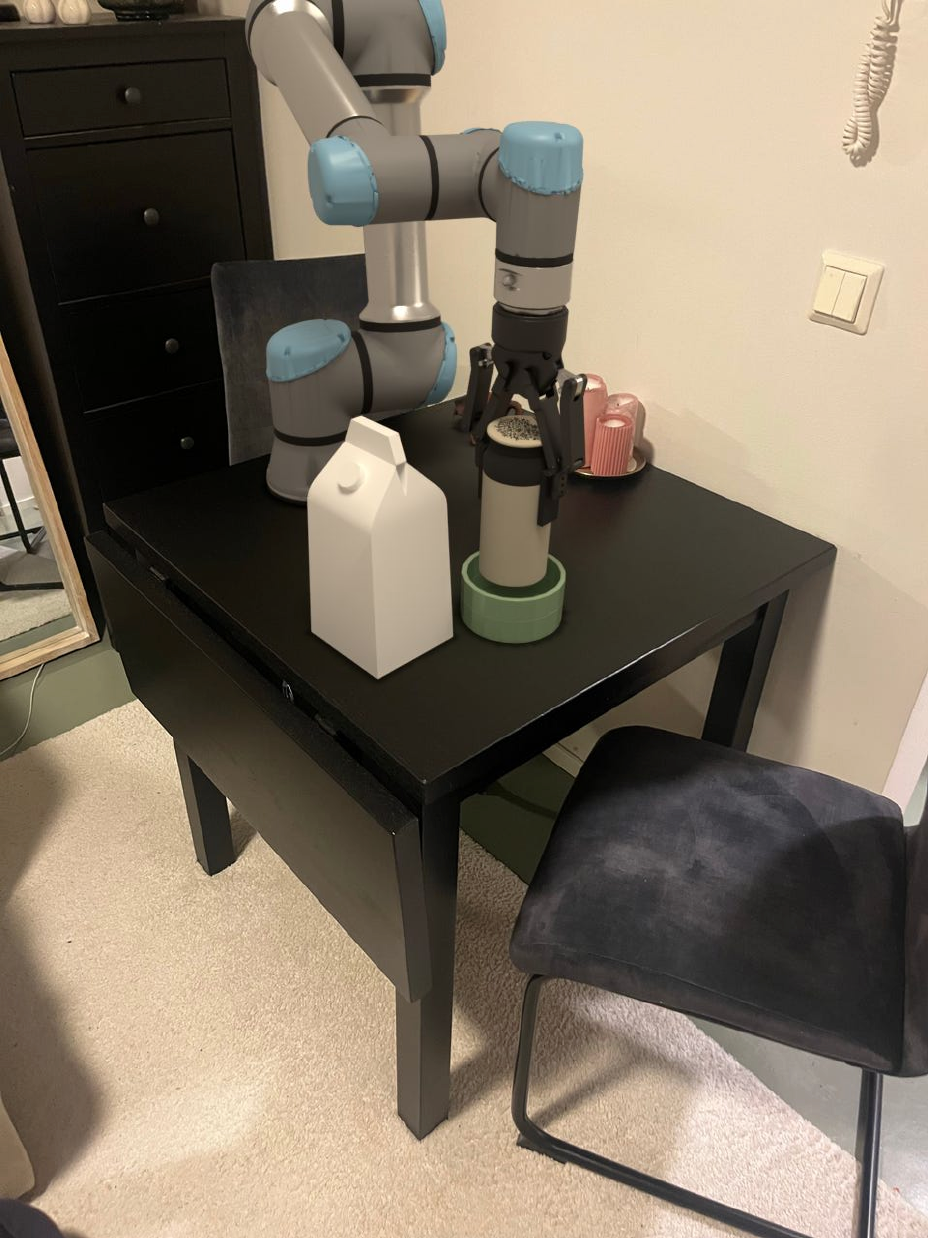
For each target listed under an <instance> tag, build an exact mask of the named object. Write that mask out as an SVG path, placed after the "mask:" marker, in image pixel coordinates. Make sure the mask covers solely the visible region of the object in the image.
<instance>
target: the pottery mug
mask: <svg viewBox="0 0 928 1238" xmlns="http://www.w3.org/2000/svg"><path fill="white" fill-rule="evenodd" d="M491 394H492V391H489V396H488V401H489V398H490V396H491ZM465 400H466V396H462V397H459V398H457V399H455V400H454V401H453V402H454V405H455V407H454V410H453V412H452V414H451V419H455V416H460V417H463V411H464V406H465ZM487 403H488V402H487ZM511 410H514V412H515V413H514V415H524V414H525V411H524V409H523V405H522V404H521V403H520V401H518V400H513V399H512V400H511V402H510V404H509V406H508V408H507V410H506V412H505V415H504V417H505V416H509V413H510V411H511ZM469 436H470V438H471V443H472V445H473V446H474V445H475V441H474V439H473V436H472V435H471V434H470V433H469Z"/></svg>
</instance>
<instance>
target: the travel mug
mask: <svg viewBox="0 0 928 1238" xmlns="http://www.w3.org/2000/svg"><path fill="white" fill-rule="evenodd" d="M487 433H488V435H489V436H490V445H489V446H488V448H487V449H486V451H485V453H484V460H483V483H482V500H481V508H480V533H479V551H480V552H479V571H480V573H481V574H482V575H483V576H484V577H485V578H486V579H487V580H489V581H491V582H493V583H495V584H498V585H502V586H508V587H522V586H528V585H532V584H534V583H537V582H538V581H540V580H541V579H542V578H543V577H544V576H545V574H546V568H547V558H548V554H549V546H550V535H551V528H552V527H551V525H552V522H550V523H549V524H547V525H545V526H543V527H541V526H538V525H537V517H538V505H539V494H540V482H541V471H542V470H544V469H546V468H548V466H547V462H546V458H545V454H544V450H543V446H542V442H541V438H540V434H539V430H538V426H537V422H536V418H535V416H532V415H524V414H523V415H515V414H514V415H508V416H505V417H501V418H498V419H496V420H494V421H492V422H491V423H490V424H489V425H488V427H487Z"/></svg>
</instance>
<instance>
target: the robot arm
mask: <svg viewBox="0 0 928 1238" xmlns="http://www.w3.org/2000/svg"><path fill="white" fill-rule="evenodd" d="M244 32H245V40H246V45H247V49H248V53H249V55H250V57H251V59H252V61H253V63H254V65H255V67H256V69H257V70H258V72H259V73H260V74H261V76H262V77H263V78H264V79H265V80H266V81H267V82H268V83H270V84H271V85H273V86H274V87H277V88H278V90H279V92H280V94H281V96H282V97H283V99H284V101H285V103H286V105H287V107H288V108H289V110H290V112H291V114H292V115H293V118H294V120H295V122H296V123H297V125H298V127H299V129H300V131H301V132H302V134H303V136H304V138H305V140H306V141H307V143H308V145H309V150H308V155H307V182H308V190H309V195H310V199H311V200H312V206H313V210H314V212H315V213H314V214H316V217H317V218H318V220H320V221H321V222H322V223H323V224H325V225H327V226H350V227H351V226H352V227H355V228H361V227H362V231H363V233H362V234H363V245H364V246H363V247H364V259H365V272H366V273H365V274H366V284H367V285H366V286H367V297H368V302H367V304H366V306H365V307H364V308H363V309H362V310H361V312H360V313H359V314H358V321H359V329H357V330H351V329H350V327H349V326H348V325H347V323H345V322H343V321H341V320H339V319H332V318H328V319H325V320H324V319H323V318H316V319H309V320H308V319H307V320H303V321H299V322H295V323H291V324H290V325H287V326H285V327H283V328H280V329H279V330H278V331H277V332H275V333H274V334H273V335H272V336H271V337H270V338H269V339H268V342H267V344H266V347H265V348H266V349H265V351H266V352H265V354H266V356H265V357H266V370H265V373H266V374H265V375H266V377H267V379H268V380H267V381H268V385H269V386H268V388H269V389H268V390H269V398H270V407H271V415H272V427H273V435H274V436H273V444H272V448H271V453H270V459H269V463H268V464H267V469H266V486H267V487H266V488H267V490H268V492H269V493H270V494H271V495H272V496H273V497H274V498H276V499H278V500H279V501H281V502H285V503H287V504H291V505H295V506H303V507H308V504H307V499H308V492H309V489H310V487H311V485H312V483H313V482H314V480H315V479H316V477H317V476H318V475H319V473H320V472H321V471H322V470H323V468H324V467H325V466H326V464H327V463H328V462H329V461H330V459H331V458H332V457H333V455H334V454H335V453H336V452H337V450H338V449H339V448H340V447H341V445H342V444H343V443H344V442H346V440H345V439H346V435H347V432H348V428H349V425H350V421H351V419H353V418H355V416H356V417H357V416H363V415H368V414H376V413H383V412H385V413H386V412H392V411H400V410H407V409H408V410H409V409H413V410H418V409H421V408H422V407H427V406H432V405H437V404H439V403H443V401H445V399H447V397H448V396H449V394H450V393H451V392H452V389H453V387H454V384H455V379H456V376H457V367H458V348H457V344H456V343H455V340H456V337H455V333H454V331H453V328H452V327H451V325H450V324H448V323H447V322H445V321H443V320H442V316H441V315H442V314H441V310H440V309H439V308H438V307H437V306H436V305H435V304H434V303H433V302H432V301H431V299H430V287H429V284H430V283H429V265H428V245H427V244H428V241H427V222H433V221H434V222H435V221H449V220H463V219H477V218H478V219H479V218H480V219H481V218H482V219H488V220H490V221H492V222H494V223H495V247H494V273H493V275H494V276H493V295H492V296H493V298H494V299H495V300H496V301H495V303H494V304H493V305H492V309H491V311H492V312H491V330H490V333H491V334H490V337H491V341H492V342H493V343H494V344H493V345H492V344H491V343H490V342H485V343H481V344H479V345H476V346H473V347H470V349H469V352H468V354H469V355H468V356H469V364H470V365H469V366H470V372H469V378H468V383H467V388H466V389H467V390H466V395H465V397H466V400H465V406H464V411H463V416H461V417H462V418H461V423H460V424H461V425H460V428H461V431H462V432H463V433H466V434H468V433H469V435H470V434H471V435H472V436H473V439H474V441H475V444H474V445H475V447H474V465H475V467H476V468H478V476H477V499H479V500H481V501H482V483H483V460H484V453H485V451H486V449H487V448H488V446H489V445H490V436H489V435H488V433H487V427H488V425H489V424H490V423H491V422H492V421H494V420H496V419H498V418H501V417H504V415H505V412H506V410H507V408H508V406H509V404H510V402H511V400H513V398H514V395H519V396H520V397H521V398H522V399H525V400H527V404H528V407H529V410H530V411H532V412H533V414H534V417H535V418H536V422H537V426H538V430H539V434H540V438H541V442H542V446H543V450H544V454H545V458H546V462H547V466H548V468H546V469H544V470H542V471H541V482H540V494H539V505H538V517H537V525H538V526H541V527H543V526H545V525H547V524H549V523H550V522H551V523H552V522H554V521H556V520H558V515H559V507H560V499H561V498H563V497H564V496H565V494H566V491H567V482H568V475H571V474H572V473H574V472H576V471H578V470H580V469H582V468H584V466H586V463H587V462H586V457H587V456H586V434H585V433H586V432H585V408H584V406H585V405H584V402H585V401H584V397H585V392H586V389H587V385H588V382H589V381H588V376H587V375H586V374H585V373H582V372H581V373H579V374H574V373H573V372H572V371H569V370H567V369H565V363H564V360H563V356H562V354H563V350H564V347H565V345H566V342H567V334H568V325H569V313H570V310H569V308H568V307H567V304H568V303H569V302H570V301H571V297H572V285H573V283H572V282H573V273H574V261H575V259H574V255H575V249H576V239H577V229H578V223H579V222H578V220H579V211H580V203H581V193H582V192H581V191H582V186H583V185H582V184H583V181H584V169H583V168H584V167H583V158H584V157H583V156H584V136H583V134H582V132H581V130H580V129H578V128H577V126H575V125H571V124H568V123H558V122H557V121H546V120H545V121H543V120H524V121H523V120H522V121H516V122H511V123H508V124H507V125H506V126H505V127H504V128H503V130H502V131H501V130H499V129H497V128H493V127H489V128H485V127H480V126H478V127H477V126H476V127H471V128H467V129H465V130H464V131H462V132H460V133H451V134H447V133H445V134H422V133H423V131H422V113H421V112H422V111H421V106H422V103H423V102H424V101H425V99H426V98H427V97H428V95H429V94H430V93H431V92H432V77H433V76H435V75H436V74H438V73H440V71H442V69H443V66H444V65H445V61H446V53H445V51H446V50H447V43H448V40H447V39H448V38H447V24H446V17H445V11H444V5H443V1H442V0H250V1H249V4H248V8H247V10H246V15H245V25H244ZM494 369H496V371H497V375H496V377H495V379H494V382H493V384H492V380H493V375H494ZM556 383H558V385H559V387H558V388H557V384H556ZM489 392H492V394H491V396H490V398H489V401H488V396H489ZM559 395H560V396H559ZM541 397H543V398H541ZM487 402H488V403H487ZM558 405H559V406H558Z"/></svg>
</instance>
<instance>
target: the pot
mask: <svg viewBox="0 0 928 1238" xmlns="http://www.w3.org/2000/svg"><path fill="white" fill-rule="evenodd" d="M479 552H480V550H478V551H476V552H474V553H473V554H471V555H469V556H468V558H467V559H466V560H465V561H464V562H463V563H462V568H461V574H460V575H461V576H460V577H461V578H460V615H461V619H462V621H463V623H464V624H465V626H466V627H467V628H468V629H469V630H470V631H472V632H473V633H474V634H475V635H477V636H480V637H482V638H485V639H487V640H490V641H493V642H499V643H505V644H525V643H531V642H535V641H539V640H542V639H544V638H546V637H548V636H549V635H551V634H552V633H554V632H555V631H556V630H557V628H558V627H559V626H560V624H561V621H562V616H563V606H564V597H565V588H566V576H567V575H566V572H567V571H566V570H565V568H564V566H563V564H562V563H561V562H560V561H559V560H558V559H557V558H556V557H554V556H553V555H552V554H549V553H548V558H547V568H546V574H545V576H544V577H543V578H542V579H541V580H540V581H538V582H537V583H534V584H532V585H528V586H522V587H508V586H502V585H498V584H495V583H493V582H491V581H489V580H487V579H486V578H485V577H484V576H483V575H482V574H481V573H480V571H479Z"/></svg>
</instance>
